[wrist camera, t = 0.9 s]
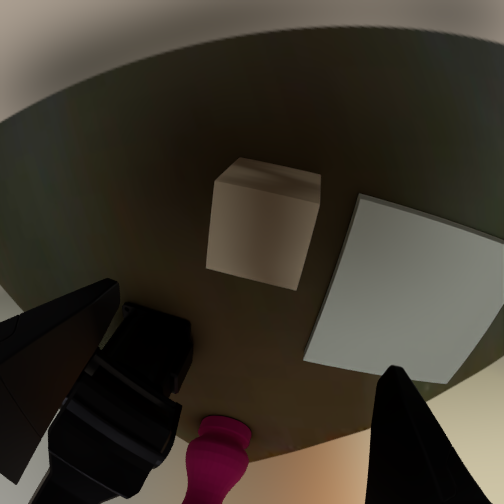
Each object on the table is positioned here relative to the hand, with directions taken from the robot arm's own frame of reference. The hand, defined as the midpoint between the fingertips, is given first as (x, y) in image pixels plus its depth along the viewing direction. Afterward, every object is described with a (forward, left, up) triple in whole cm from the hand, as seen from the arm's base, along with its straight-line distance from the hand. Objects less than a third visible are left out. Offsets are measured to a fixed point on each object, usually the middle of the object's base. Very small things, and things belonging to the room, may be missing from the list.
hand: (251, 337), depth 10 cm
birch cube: (-1, -1, -12) cm, 12 cm away
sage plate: (+11, -6, -12) cm, 17 cm away
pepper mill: (-1, -30, -12) cm, 32 cm away
